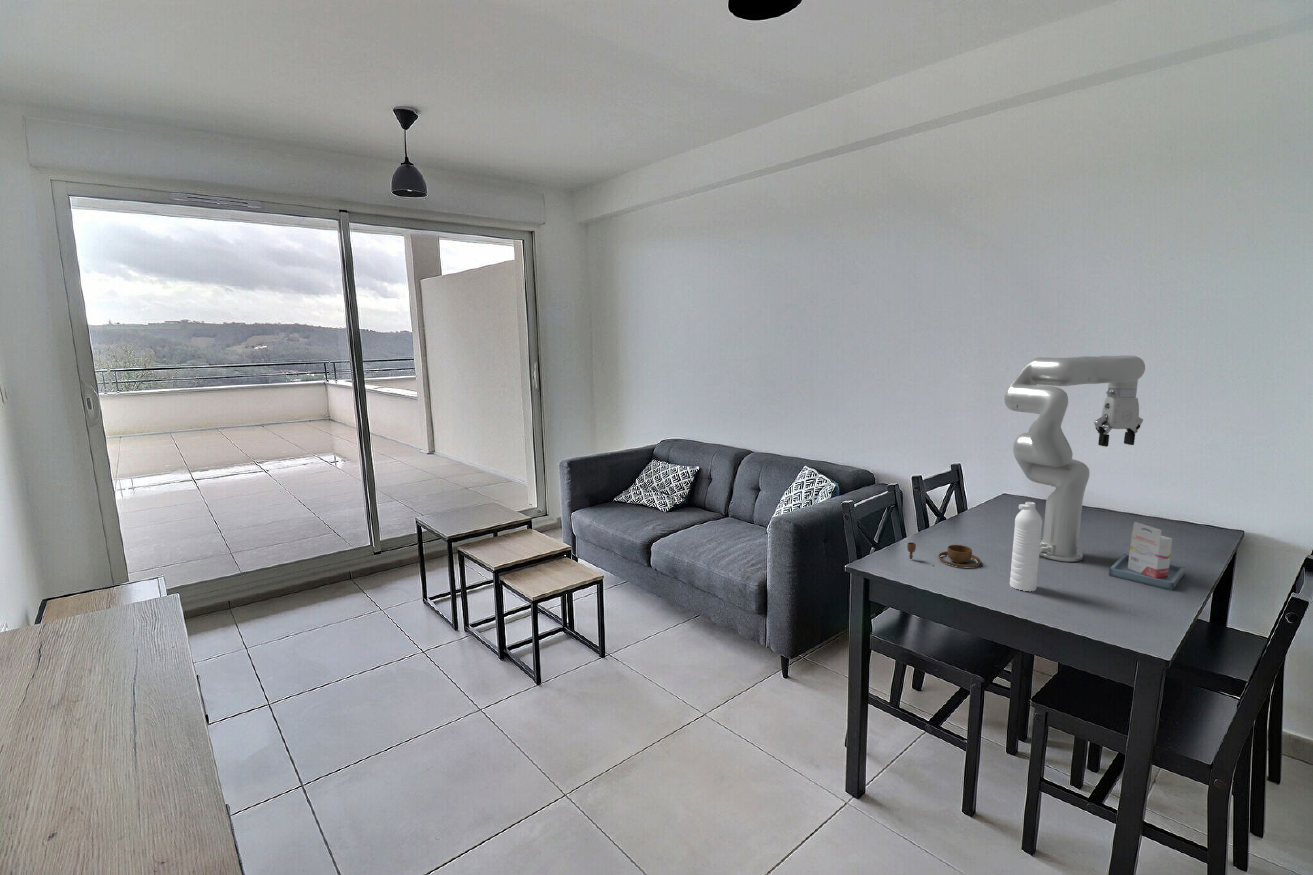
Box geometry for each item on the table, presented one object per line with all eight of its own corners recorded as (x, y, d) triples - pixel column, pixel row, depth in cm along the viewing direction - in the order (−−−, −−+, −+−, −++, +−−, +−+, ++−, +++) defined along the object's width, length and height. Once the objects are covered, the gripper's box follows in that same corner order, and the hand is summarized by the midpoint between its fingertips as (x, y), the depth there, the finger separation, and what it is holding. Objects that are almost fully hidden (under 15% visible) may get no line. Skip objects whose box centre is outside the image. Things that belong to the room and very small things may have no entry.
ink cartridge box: (1169, 577, 176) (1175, 528, 173) (1155, 579, 175) (1162, 530, 172) (1139, 566, 184) (1145, 519, 182) (1126, 568, 183) (1132, 521, 180)
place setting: (973, 576, 182) (974, 558, 181) (904, 562, 194) (905, 544, 193) (985, 558, 196) (986, 541, 195) (920, 546, 208) (921, 529, 207)
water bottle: (1014, 580, 177) (1022, 497, 173) (1039, 587, 172) (1047, 502, 168) (1002, 589, 172) (1009, 503, 167) (1027, 596, 167) (1035, 508, 163)
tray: (1172, 590, 169) (1173, 583, 168) (1108, 575, 179) (1109, 568, 179) (1184, 574, 179) (1185, 567, 179) (1123, 560, 190) (1124, 554, 190)
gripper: (1108, 395, 194) (1102, 448, 197) (1155, 393, 196) (1149, 445, 199) (1088, 393, 201) (1083, 444, 204) (1134, 391, 204) (1128, 441, 207)
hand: (1116, 445), depth 202 cm, fingers open, 9 cm apart
